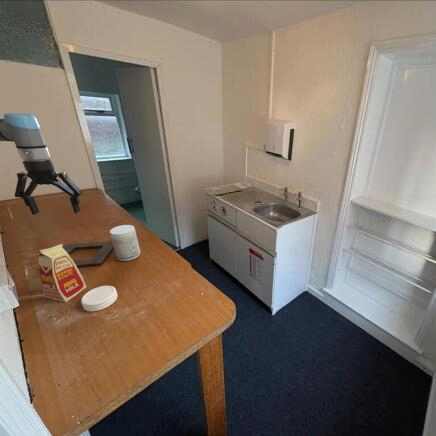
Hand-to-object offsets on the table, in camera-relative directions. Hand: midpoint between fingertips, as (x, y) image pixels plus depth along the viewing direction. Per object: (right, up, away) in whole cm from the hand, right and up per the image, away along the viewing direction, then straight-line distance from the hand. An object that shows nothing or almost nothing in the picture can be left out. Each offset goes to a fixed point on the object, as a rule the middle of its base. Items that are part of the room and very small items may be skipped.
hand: (57, 212), depth 94 cm
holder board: (-3, -20, +15) cm, 25 cm away
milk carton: (+9, -30, -5) cm, 32 cm away
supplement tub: (+17, -21, +17) cm, 32 cm away
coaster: (+25, -33, -9) cm, 42 cm away
